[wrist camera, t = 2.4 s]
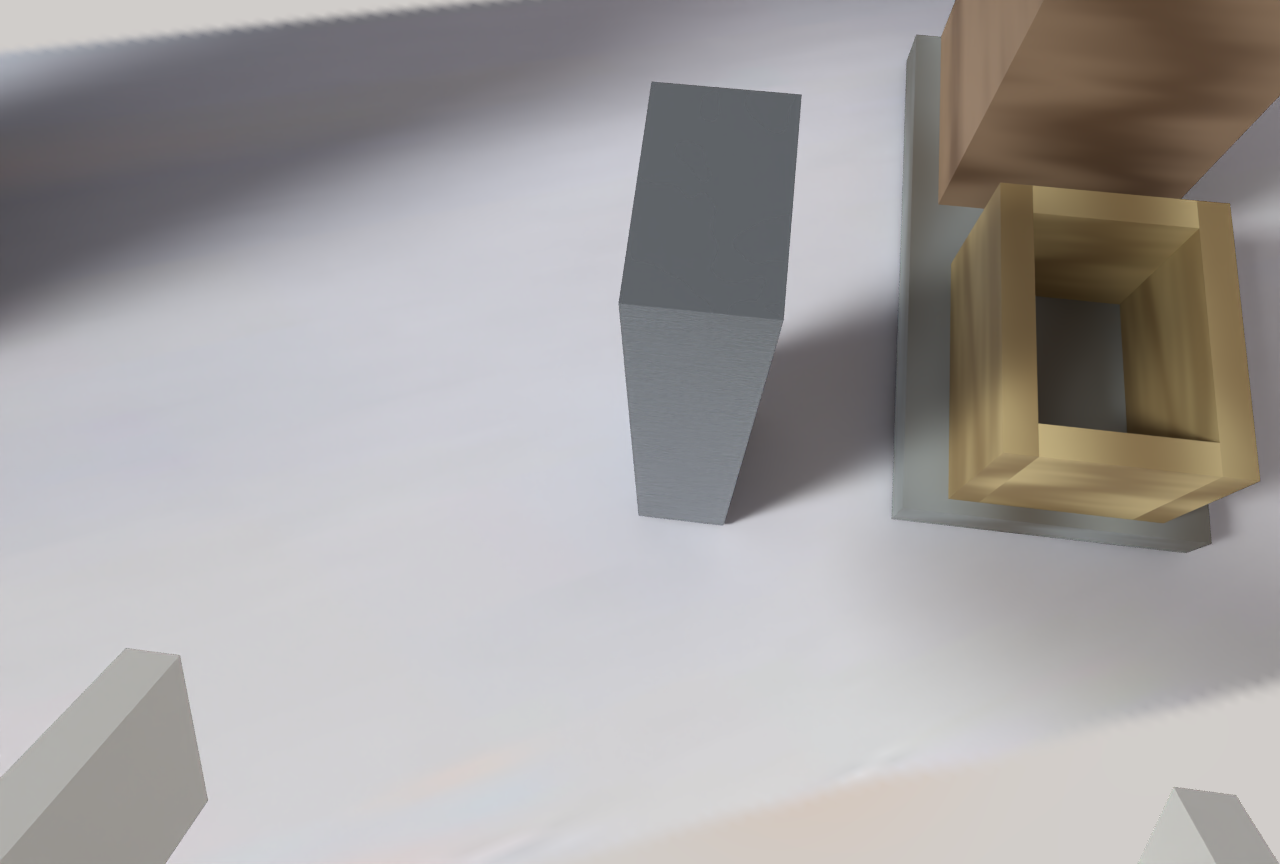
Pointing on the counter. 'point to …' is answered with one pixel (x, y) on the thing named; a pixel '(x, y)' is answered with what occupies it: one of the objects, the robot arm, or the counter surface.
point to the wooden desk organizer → (1076, 268)
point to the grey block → (704, 288)
